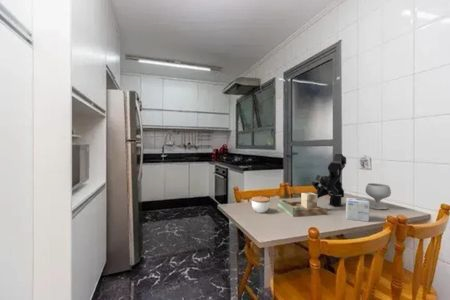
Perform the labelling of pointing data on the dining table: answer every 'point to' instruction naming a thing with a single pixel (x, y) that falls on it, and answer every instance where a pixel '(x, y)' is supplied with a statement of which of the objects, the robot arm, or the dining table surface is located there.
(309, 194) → the oak block
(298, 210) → the trap board
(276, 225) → the dining table surface
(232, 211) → the dining table surface
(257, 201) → the lidded jar
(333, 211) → the dining table surface
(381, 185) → the chalice
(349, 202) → the light bulb box
